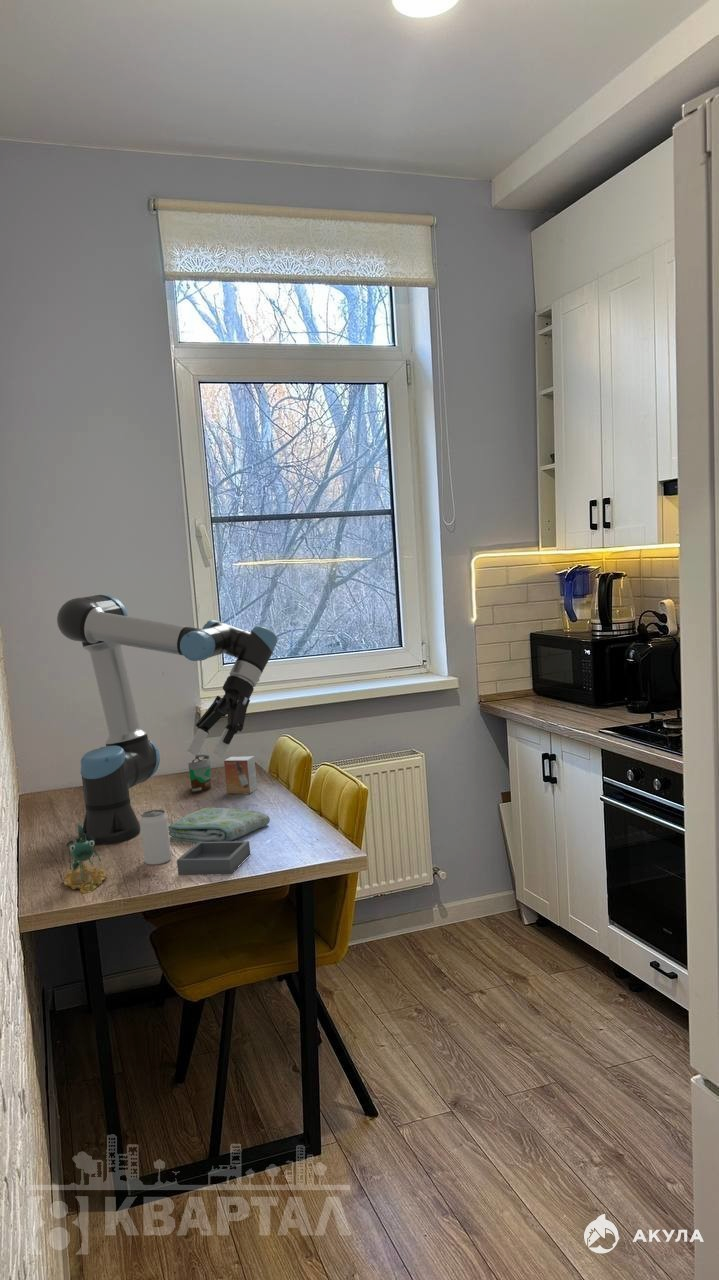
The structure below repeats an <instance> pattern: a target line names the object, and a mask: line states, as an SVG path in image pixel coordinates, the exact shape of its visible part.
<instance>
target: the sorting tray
mask: <svg viewBox="0 0 719 1280" xmlns="http://www.w3.org/2000/svg"><path fill="white" fill-rule="evenodd" d="M249 855H250V856H251V848H250V841H249V840H247V841H246V840H244V841H243V840H241V841H239V840H237V841H235V840H234V841H233V840H232V841H224V842H196V843H195V844H194V845H193V846H192V847H191V848H190V849H188V850H187V851H186V852H185V853H184V854H183V855H181V856H180V857H179V858H177V859H176V865H177V875H178V876H200V875H201V876H211V875H210V874H231V875H233V873H234V872H235V871H237V869H238V868H239V867H240V866H241V865H242V864H243V863H244V862H245V861H246V860H247V859H248V858H249V857H250V856H249ZM248 856H249V857H248ZM247 857H248V858H247ZM246 858H247V859H246ZM245 859H246V860H245ZM244 860H245V861H244ZM243 861H244V862H243ZM242 862H243V863H242ZM241 863H242V864H241ZM240 864H241V865H240ZM239 865H240V866H239ZM238 866H239V867H238ZM234 870H235V871H234ZM202 874H203V875H202ZM205 874H206V875H205ZM207 874H209V875H207Z"/></svg>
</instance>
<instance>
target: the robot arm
mask: <svg viewBox="0 0 719 1280" xmlns="http://www.w3.org/2000/svg"><path fill="white" fill-rule="evenodd" d="M56 624H57V627H58V629H59V631H60V633H61V634H62V635H63V636H64V637H65V638H66V639H69V640H71V641H74V642H81V644H82V648H83V649H84V650H86V651H87V652H89V653H90V658H91V662H92V666H93V667H92V668H93V670H94V675H95V679H96V684H97V688H98V693H99V697H100V702H101V705H102V709H103V713H104V719H105V723H106V728H107V731H108V737H107V739H106V741H105V746H100V747H99V748H94V749H92V750H89V751H88V752H85V753H84V754H83V755H82V757H81V759H80V775H81V782H82V788H83V797H84V805H85V815H84V818H83V819H84V820H83V825H82V828H83V838H84V837H86V839H87V841H90V840H93V839H89V837H94V838H95V840H93V841H94V842H95V845H108V844H116V843H120V842H124V841H128V840H130V839H132V838H134V837H136V836H138V835H139V834H140V833H141V826H140V821H139V820H138V817H137V815H136V813H135V811H134V810H133V809H134V808H133V807H132V805H131V798H130V797H131V795H130V791H129V790H130V788H132V787H135V786H137V785H139V784H142V783H144V782H146V781H148V780H149V779H150V778H152V777H153V776H154V775H155V773H157V770H158V768H159V766H160V762H161V761H160V760H161V755H160V751H159V749H158V747H157V745H156V744H155V743H153V741H151V740H150V739H149V736H148V733H147V732H146V731H145V730H143V729H142V728H141V727H140V726H141V725H140V723H139V719H138V718H139V717H138V714H137V711H136V706H135V705H136V704H135V700H134V697H133V693H132V687H131V684H130V680H129V679H130V678H129V674H128V671H127V666H126V661H125V657H124V653H123V649H122V646H128V647H134V648H139V649H144V650H151V651H156V652H162V653H167V654H173V655H178V656H183V657H184V658H186V659H187V660H188V661H192V662H198V661H199V662H201V661H205V660H207V659H209V658H213V657H215V656H219V655H223V654H224V655H228V656H231V657H234V658H236V660H235V662H234V664H233V666H232V667H231V669H230V672H229V676H227V678H226V680H225V681H224V684H223V686H222V690H223V691H224V694H223V697H221V696H219V695H217V696H216V697H215V698H214V700H213V702H212V704H210V706H209V707H208V709H207V710H206V711H205V712H204V713H203V715H202V716H201V718H200V719H199V720H198V721H197V722H196V723H195V726H196V727H197V731H196V733H195V735H194V737H193V739H192V741H191V743H190V744H189V747H188V749H187V752H189V753H190V754H192V755H194V757H195V756H197V755H199V752H200V750H201V748H202V747H203V744H204V742H205V741H206V738H207V737H208V735H209V734H210V731H209V730H211V729H212V727H213V726H215V724H216V723H217V722H219V721H220V719H222V718H224V717H225V716H227V724H226V726H225V727H224V730H223V731H222V733H221V734H220V738H219V740H217V741H218V742H217V743H216V745H215V747H214V749H213V752H212V753H213V754H215V755H217V756H218V757H219V758H222V759H223V758H224V756H225V754H226V752H227V750H228V748H229V746H230V744H231V742H232V740H233V738H234V737H235V734H238V732H242V731H243V730H244V724H245V720H246V716H247V715H246V714H247V711H248V706H249V704H250V702H251V699H250V698H251V696H252V694H253V693H254V690H255V687H256V685H257V684H258V682H260V678H261V676H262V674H263V672H264V670H265V668H266V666H267V665H268V662H269V660H270V659H271V658H272V657H271V656H272V655H273V654H274V650H275V648H276V646H277V643H278V637H277V635H276V633H275V632H274V631H272V630H271V629H268V628H267V627H264V626H259V625H256V626H254V627H253V628H252V629H251V630H250V631H247V630H243V629H241V628H239V627H236V626H233V625H230V624H227V623H225V622H223V621H219V620H215V619H214V620H213V619H210V620H207V622H206V623H204V624H203V627H202V628H197V627H191V626H185V625H180V624H176V623H175V624H173V623H168V622H161V621H158V620H157V621H155V620H150V619H146V618H145V619H144V618H140V617H139V618H138V617H133V616H128V612H127V609H126V606H125V605H124V604H123V602H121V601H120V599H118V598H117V597H115V596H112V595H109V594H97V595H90V596H84V597H75V598H72V599H69V600H67V601H66V602H65V603H63V605H62V606H61V607H60V608H59V610H58V613H57V617H56Z"/></svg>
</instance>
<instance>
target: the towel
mask: <svg viewBox="0 0 719 1280" xmlns="http://www.w3.org/2000/svg"><path fill="white" fill-rule="evenodd" d="M270 820H271V819H270V816H268V814H266V813H264V812H261V811H259V810H252V809H251V810H250V809H237V808H225V807H223V808H220V807H204V808H201V809H198V810H197V811H194V812H191V813H189V814H186V815H184V816H183V817H181V818H179V819H177V820H176V821H173V822H172V823H171V824H169V825H168V829H169V837H171V840H176V841H180V842H181V841H182V842H183V841H184V842H192V843H198V842H224V841H233V840H234V841H235V840H236V839H239V838H241V836H242V837H244V836H245V835H248V834H250V833H253V832H255V831H257V830H260V829H261V827H262V828H263V827H266V826H267V825H268V824H269V823H270V822H271V821H270ZM259 828H260V829H259ZM254 830H255V831H254ZM252 831H253V832H252Z"/></svg>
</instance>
